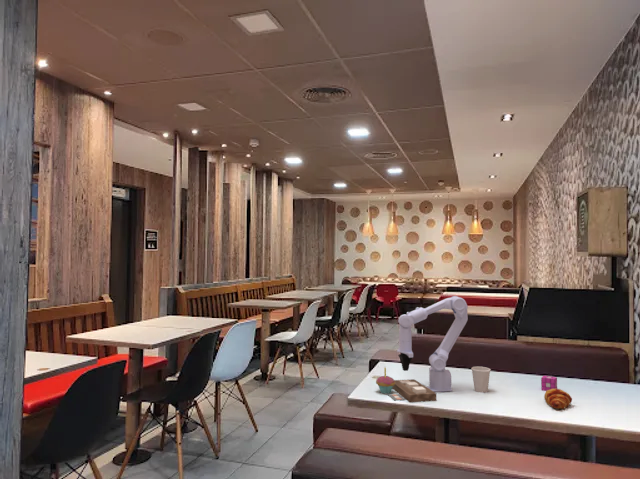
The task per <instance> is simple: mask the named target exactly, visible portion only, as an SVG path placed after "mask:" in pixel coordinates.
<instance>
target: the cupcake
mask: <svg viewBox="0 0 640 479" xmlns="http://www.w3.org/2000/svg"><path fill="white" fill-rule="evenodd" d="M383 368H384V372H383V373H384V375H382V376H378V378H376V381H375V384H376V385H377V386H378V388H379V391H380V394H384V395H387V394H388V395H390V394H391V393H392V390H393V389H392V388H393V386H394V385H395V381H394V380H395V379H394V378H393V377H391V376H388V375H387V373H386V372H387V368H386V367H383Z"/></svg>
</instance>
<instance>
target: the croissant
mask: <svg viewBox="0 0 640 479" xmlns="http://www.w3.org/2000/svg"><path fill="white" fill-rule="evenodd" d="M543 398H544V401H545V403H546V404H547V405H549V406H550V407H551V408H552V409H553V408H554V409H561V410H562V409H566V408H569V405H570V404H571V403H572V402H573V398H572V396H571V395H570V393H569V392H567V391H564V390H563V389H560V388H557V389H550V390H547V391H545V393H544V396H543Z"/></svg>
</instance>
